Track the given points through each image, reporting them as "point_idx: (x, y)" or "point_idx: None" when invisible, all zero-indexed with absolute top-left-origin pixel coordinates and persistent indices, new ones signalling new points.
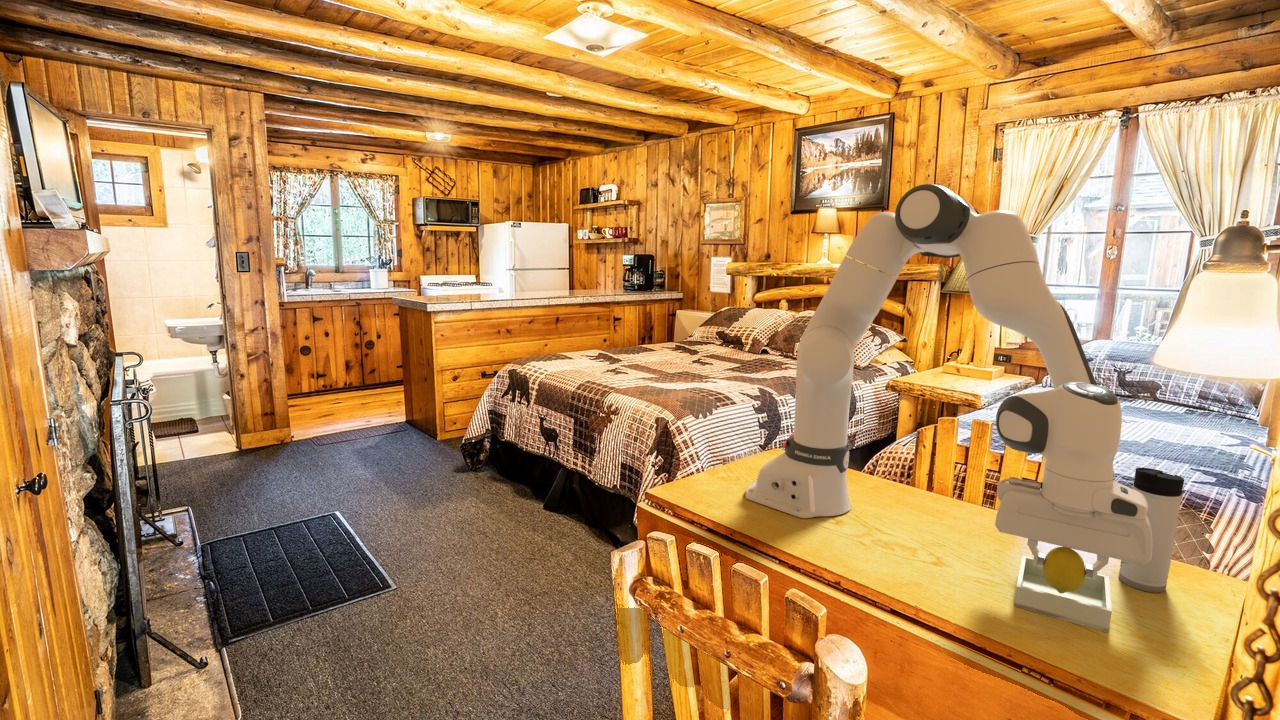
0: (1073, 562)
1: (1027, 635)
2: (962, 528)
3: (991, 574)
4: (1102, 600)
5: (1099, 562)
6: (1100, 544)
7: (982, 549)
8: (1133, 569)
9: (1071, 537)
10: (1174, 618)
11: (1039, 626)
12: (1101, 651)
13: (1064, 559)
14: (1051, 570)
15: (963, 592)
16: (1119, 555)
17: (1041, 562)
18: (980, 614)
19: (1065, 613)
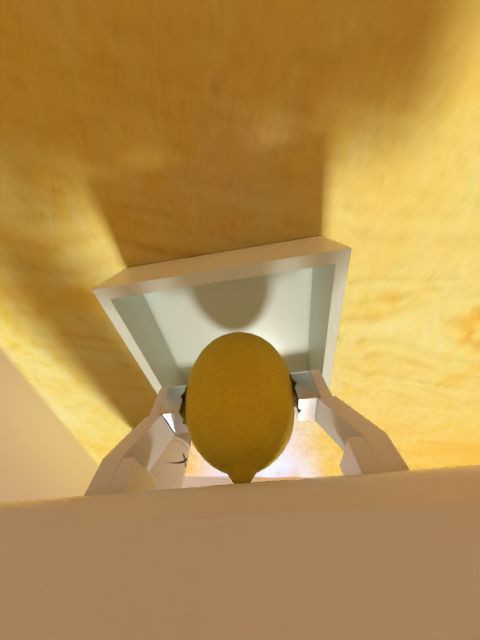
0: (206, 414)
1: (276, 35)
2: (391, 435)
3: (362, 342)
4: (178, 368)
5: (136, 451)
6: (59, 594)
7: (368, 405)
8: (161, 455)
9: (217, 595)
10: (93, 387)
11: (252, 161)
12: (86, 140)
13: (237, 415)
14: (267, 361)
15: (451, 211)
16: (7, 532)
17: (300, 382)
18: (430, 77)
19: (208, 258)
